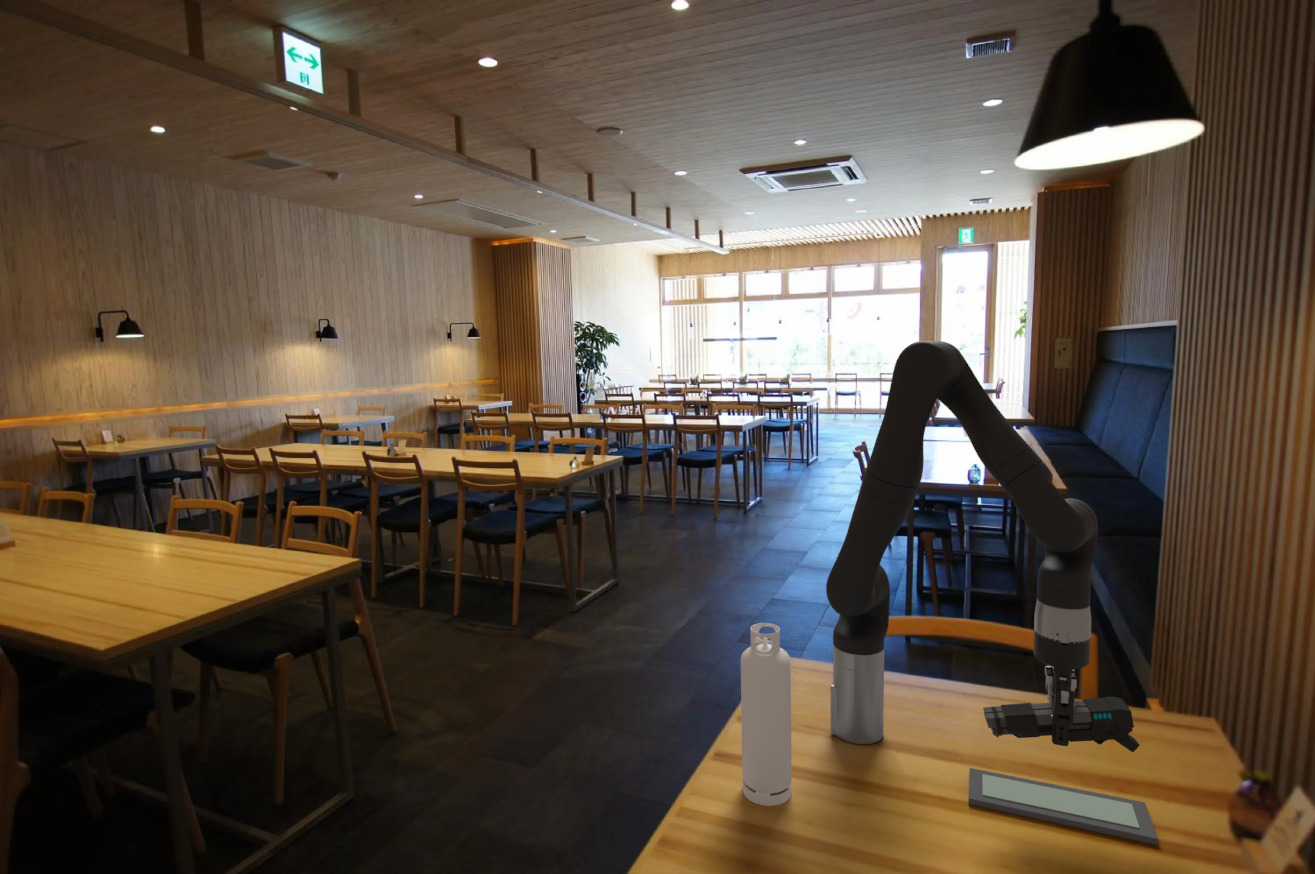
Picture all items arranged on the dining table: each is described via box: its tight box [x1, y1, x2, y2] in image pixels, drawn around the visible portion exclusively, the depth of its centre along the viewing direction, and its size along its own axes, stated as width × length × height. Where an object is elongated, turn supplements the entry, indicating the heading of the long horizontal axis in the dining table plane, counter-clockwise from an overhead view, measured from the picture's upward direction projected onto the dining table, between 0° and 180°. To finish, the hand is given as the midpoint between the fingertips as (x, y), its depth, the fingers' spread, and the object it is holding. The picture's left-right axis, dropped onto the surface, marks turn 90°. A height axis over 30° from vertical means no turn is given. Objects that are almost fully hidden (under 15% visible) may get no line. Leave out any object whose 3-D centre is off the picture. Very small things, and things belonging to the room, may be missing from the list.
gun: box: [982, 696, 1140, 753], centre depth 110 cm, size 4×20×10 cm, turn 74°
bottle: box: [740, 622, 793, 807], centre depth 116 cm, size 8×8×28 cm
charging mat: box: [968, 767, 1159, 846], centre depth 111 cm, size 25×9×1 cm, turn 65°
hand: (1058, 734), depth 110 cm, fingers closed on gun, 4 cm apart
